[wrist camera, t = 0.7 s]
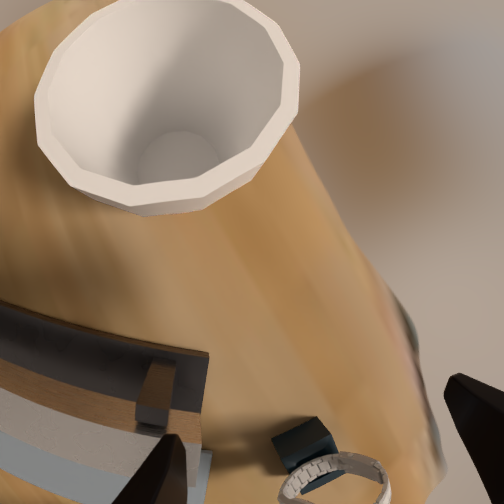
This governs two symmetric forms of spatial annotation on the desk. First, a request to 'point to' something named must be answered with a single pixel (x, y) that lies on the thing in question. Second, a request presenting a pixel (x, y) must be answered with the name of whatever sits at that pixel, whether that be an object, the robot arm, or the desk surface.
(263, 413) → the desk surface
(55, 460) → the mat
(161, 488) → the robot arm
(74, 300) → the desk surface
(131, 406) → the rail
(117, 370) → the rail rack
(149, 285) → the desk surface
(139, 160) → the foam cup
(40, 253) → the desk surface
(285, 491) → the watch
